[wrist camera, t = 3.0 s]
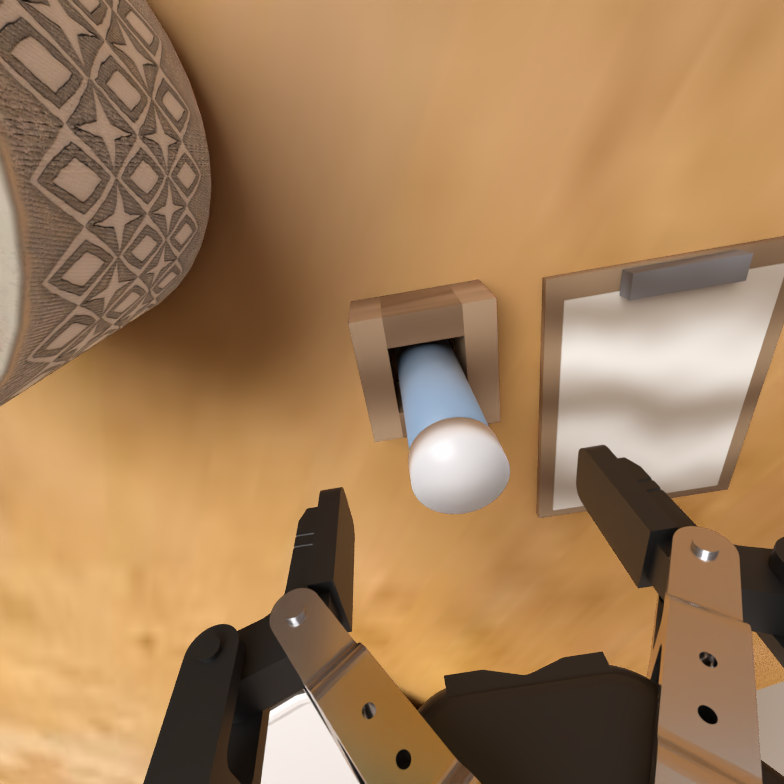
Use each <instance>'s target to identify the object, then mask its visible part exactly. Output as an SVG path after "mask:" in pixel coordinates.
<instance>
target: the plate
mask: <svg viewBox="0 0 784 784" xmlns="http://www.w3.org/2000/svg"><path fill="white" fill-rule="evenodd" d="M261 784H359V783H358V781H357V779H356V778H355V776H354V774H353V773H352V771H351V769H350V767H349V766H348V764H347V762H346V760H345V759H344V757H343V755H342V753H341V752H340V750H339V748H338V746H337V745H336V743H335V741H334V740H333V738H332V736H331V735H330V733H329V731H328V730H327V728H326V726H325V725H324V723H323V721H322V720H321V718H320V716H319V715H318V713H317V711H316V710H315V708H314V706H313V705H312V703H311V701H310V700H309V698H308V696H307V695H306V693H305V691H304V690H300V691H298V692H297V693H295V694H293V695H291V696H289V697H287V698H286V699H284V700H282V701H281V702H279V703H277V704H276V705H274V706H272V707H271V708H270V714H269V722H268V730H267V738H266V746H265V754H264V762H263V769H262V777H261Z"/></svg>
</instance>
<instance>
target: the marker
mask: <svg viewBox="0 0 784 784" xmlns="http://www.w3.org/2000/svg"><path fill="white" fill-rule="evenodd" d="M395 356H396V363H397V370H398V377H399V384H400V391H401V397H402V404H403V411H404V418H405V425H406V431H407V438H408V445H409V453H408V464H409V471H410V478H411V486H412V489H413V492H414V494H415V496H416V497H417V499H418V500H419V501H420V502H421V503H422V504H423V505H425V506H426V507H428V508H430V509H432V510H434V511H437V512H440V513H446V514H463V513H468V512H472V511H476V510H478V509H481V508H483V507H485V506H487V505H488V504H490V503H491V502H493V501H494V500H495V499H496V498H497V497H498V496H499V495H500V494H501V493H502V492H503V490H504V489H505V487H506V485H507V483H508V480H509V476H510V465H509V462H508V459H507V457H506V455H505V453H504V451H503V449H502V447H501V445H500V443H499V441H498V438H497V436H496V435H495V433H494V432H493V431H492V430H491V429H490V428H489V426H488V424H487V422H486V419H485V417H484V415H483V413H482V411H481V409H480V407H479V404H478V402H477V400H476V398H475V396H474V394H473V392H472V390H471V387H470V385H469V383H468V381H467V379H466V377H465V375H464V372H463V370H462V368H461V366H460V364H459V362H458V360H457V358H456V355H455V353H454V351H453V349H452V347H451V345H450V343H449V340H448V339H442V340H436V341H430V342H424V343H418V344H412V345H406V346H400V347H395Z"/></svg>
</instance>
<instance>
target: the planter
mask: <svg viewBox="0 0 784 784" xmlns="http://www.w3.org/2000/svg"><path fill="white" fill-rule="evenodd" d="M210 199H211V173H210V156H209V151H208V146H207V141H206V136H205V131H204V126H203V121H202V117H201V114H200V111H199V108H198V105H197V102H196V99H195V96H194V93H193V90H192V87H191V84H190V81H189V79H188V77H187V75H186V72H185V70H184V68H183V66H182V64H181V62H180V60H179V58H178V55H177V53H176V51H175V49H174V47H173V45H172V43H171V41H170V39H169V37H168V36H167V34H166V32H165V31H164V29H163V27H162V26H161V24H160V23H159V21H158V19H157V18H156V16H155V14H154V13H153V11H152V10H151V8H150V6H149V5H148V3H147V1H146V0H0V406H2V405H3V404H5V403H6V402H8V401H9V400H11V399H12V398H14V397H15V396H17V395H19V394H20V393H22V392H23V391H25V390H26V389H28V388H29V387H31V386H32V385H34V384H36V383H37V382H39V381H40V380H42V379H43V378H45V377H46V376H48V375H50V374H51V373H53V372H54V371H56V370H57V369H59V368H60V367H62V366H63V365H65V364H67V363H68V362H70V361H71V360H73V359H74V358H76V357H77V356H79V355H80V354H82V353H84V352H85V351H87V350H88V349H90V348H91V347H93V346H94V345H96V344H97V343H99V342H101V341H102V340H104V339H105V338H107V337H108V336H110V335H111V334H113V333H115V332H116V331H118V330H119V329H121V328H122V327H124V326H125V325H127V324H128V323H130V322H132V321H133V320H135V319H136V318H138V317H139V316H141V315H142V314H144V313H145V312H147V311H149V310H150V309H152V308H153V307H155V306H156V305H158V304H159V303H161V302H162V301H163V300H164V299H165V298H166V297H167V296H168V295H169V294H170V293H172V292H173V291H174V290H175V289H176V288H177V287H178V285H179V284H180V283H181V281H182V280H183V279H184V277H185V276H186V274H187V273H188V272H189V270H190V269H191V267H192V265H193V263H194V261H195V259H196V256H197V254H198V252H199V250H200V248H201V246H202V242H203V239H204V235H205V231H206V227H207V223H208V219H209V210H210Z"/></svg>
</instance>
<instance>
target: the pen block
mask: <svg viewBox="0 0 784 784" xmlns="http://www.w3.org/2000/svg"><path fill="white" fill-rule="evenodd" d="M348 325H349V329H350V334H351V338H352V343H353V347H354V351H355V356H356V360H357V365H358V369H359V374H360V378H361V383H362V387H363V392H364V396H365V401H366V405H367V410H368V414H369V419H370V423H371V427H372V432H373V436H374V441H375V442H379V441H385V440H391V439H398V438H404V437H407V431H406V425H405V418H404V411H403V404H402V397H401V391H400V384H399V382H398V383H395V380H394V374H393V368H392V363H391V357H390V351H389V348H394V347H400V346H406V345H412V344H418V343H424V342H430V341H436V340H442V339H448V338H454V347H455V355H456V358H457V360H458V362H459V364H460V366H461V368H462V370H463V372H464V375H465V377H466V379H467V381H468V383H469V385H470V387H471V390H472V392H473V394H474V396H475V398H476V400H477V402H478V404H479V407H480V409H481V411H482V413H483V415H484V417H485V419H486V422H487V424H491V423H497V422H500V397H499V365H498V333H497V301H496V297H495V296H494V295H493V294H492V293H491V292H490V291H489V290H488V289H487V288H486V287H485V286H484V285H483V284H482V283H481V282H480V281H479V280H474V281H468V282H462V283H456V284H451V285H445V286H439V287H433V288H428V289H422V290H416V291H410V292H404V293H399V294H393V295H387V296H381V297H376V298H370V299H364V300H358V301H352V302H351V305H350V313H349V321H348Z"/></svg>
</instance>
